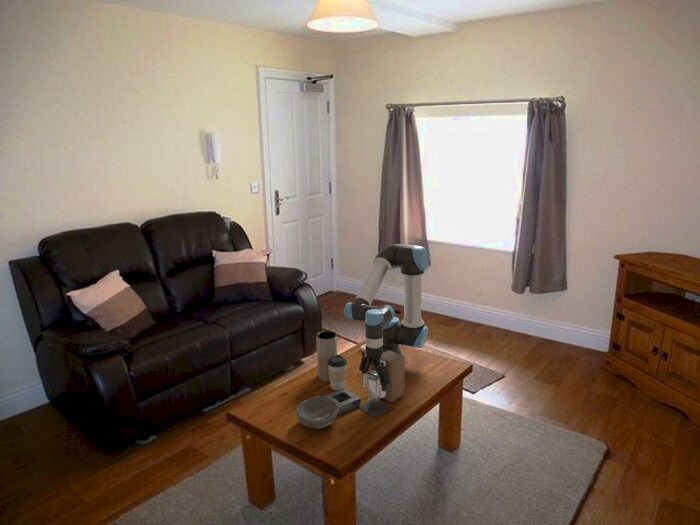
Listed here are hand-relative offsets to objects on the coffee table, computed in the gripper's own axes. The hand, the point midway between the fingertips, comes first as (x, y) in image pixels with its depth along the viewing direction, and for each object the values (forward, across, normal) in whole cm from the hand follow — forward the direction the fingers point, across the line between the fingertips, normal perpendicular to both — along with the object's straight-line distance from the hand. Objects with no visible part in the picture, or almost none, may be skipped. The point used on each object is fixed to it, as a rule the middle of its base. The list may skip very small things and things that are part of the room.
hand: (374, 391), depth 217 cm
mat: (+8, 0, 0) cm, 8 cm away
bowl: (+9, -6, -26) cm, 28 cm away
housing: (+8, -12, -9) cm, 17 cm away
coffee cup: (+9, -26, -1) cm, 27 cm away
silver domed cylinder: (+8, 0, 0) cm, 8 cm away
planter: (+9, -37, +1) cm, 38 cm away
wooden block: (+9, -4, +13) cm, 16 cm away
